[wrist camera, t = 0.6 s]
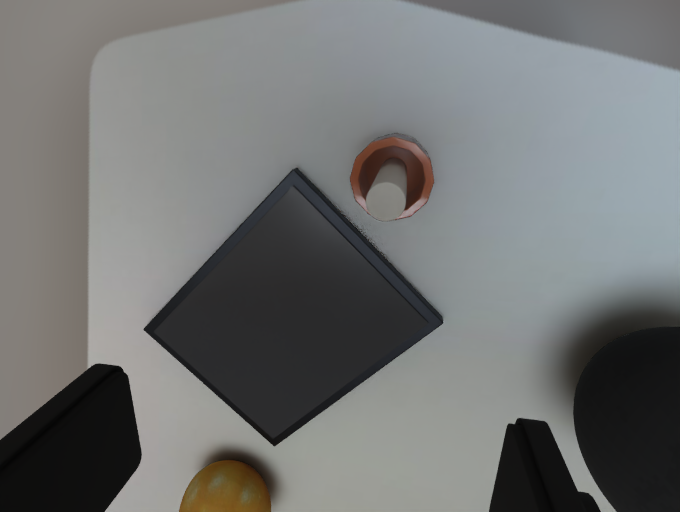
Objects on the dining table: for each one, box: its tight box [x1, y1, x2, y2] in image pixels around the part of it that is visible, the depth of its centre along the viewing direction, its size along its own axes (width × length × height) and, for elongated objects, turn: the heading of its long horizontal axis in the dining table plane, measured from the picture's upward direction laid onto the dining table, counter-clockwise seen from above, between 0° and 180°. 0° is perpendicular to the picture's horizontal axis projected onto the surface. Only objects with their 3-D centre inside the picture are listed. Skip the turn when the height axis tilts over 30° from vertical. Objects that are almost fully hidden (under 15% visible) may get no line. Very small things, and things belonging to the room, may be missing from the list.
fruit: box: [179, 460, 271, 512], centre depth 38 cm, size 8×8×8 cm
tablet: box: [144, 168, 443, 446], centre depth 34 cm, size 16×20×1 cm
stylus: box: [366, 158, 407, 221], centre depth 23 cm, size 2×2×11 cm
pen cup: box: [350, 133, 434, 220], centre depth 26 cm, size 5×5×5 cm
